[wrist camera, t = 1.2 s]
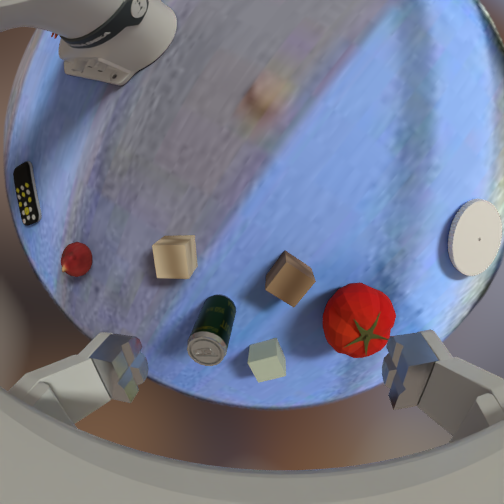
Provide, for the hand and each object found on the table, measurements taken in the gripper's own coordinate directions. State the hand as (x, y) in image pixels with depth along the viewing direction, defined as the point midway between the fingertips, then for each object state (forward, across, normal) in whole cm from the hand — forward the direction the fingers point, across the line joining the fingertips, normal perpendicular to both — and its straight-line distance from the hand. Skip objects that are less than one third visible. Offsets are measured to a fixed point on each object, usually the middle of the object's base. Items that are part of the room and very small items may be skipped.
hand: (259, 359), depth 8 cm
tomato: (+34, -11, +17) cm, 40 cm away
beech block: (+32, +16, +6) cm, 37 cm away
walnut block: (+33, -1, +10) cm, 35 cm away
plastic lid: (+35, -36, +6) cm, 51 cm away
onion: (+32, +34, +5) cm, 47 cm away
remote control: (+31, +49, -8) cm, 59 cm away
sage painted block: (+34, +3, +26) cm, 42 cm away
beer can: (+33, +11, +16) cm, 38 cm away
